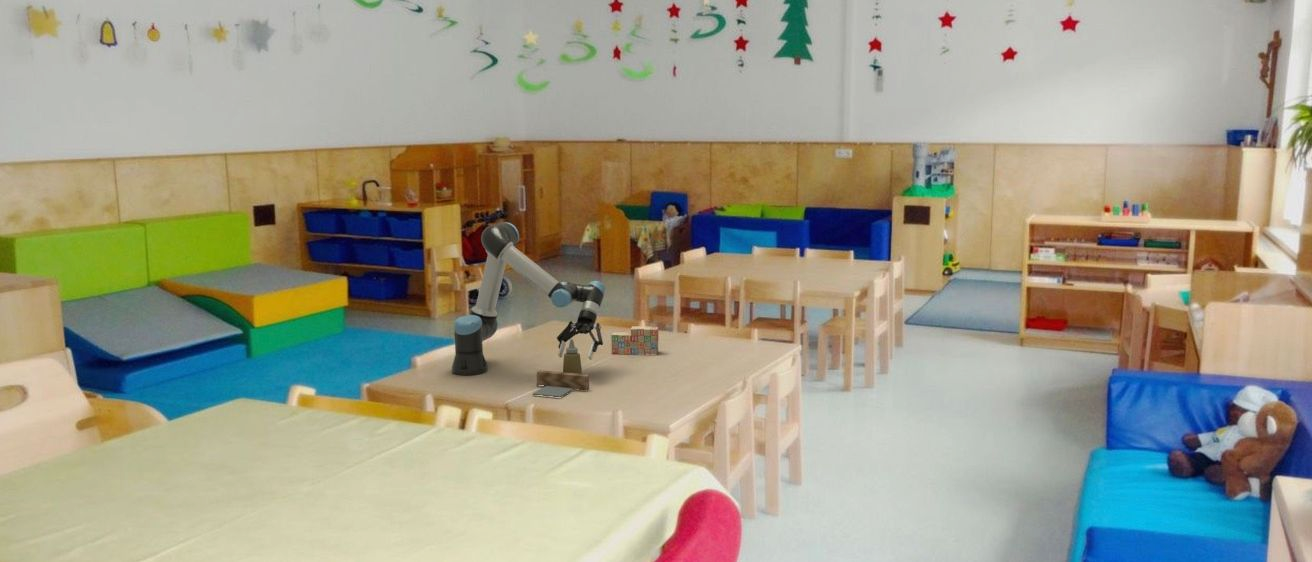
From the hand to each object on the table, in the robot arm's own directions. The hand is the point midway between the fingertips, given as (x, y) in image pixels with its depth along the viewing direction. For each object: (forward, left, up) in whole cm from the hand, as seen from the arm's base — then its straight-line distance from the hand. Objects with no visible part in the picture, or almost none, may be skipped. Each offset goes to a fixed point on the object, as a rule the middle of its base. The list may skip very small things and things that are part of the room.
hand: (574, 356), depth 402 cm
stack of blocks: (+48, +28, -11) cm, 56 cm away
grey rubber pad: (-16, -10, -11) cm, 21 cm away
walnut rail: (-8, -5, -11) cm, 14 cm away
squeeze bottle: (-1, 0, -11) cm, 11 cm away
